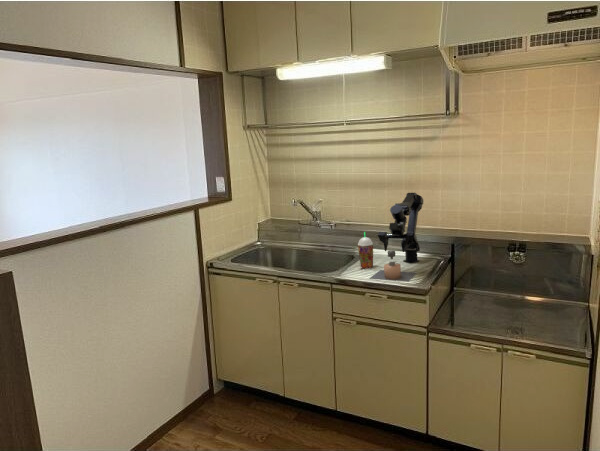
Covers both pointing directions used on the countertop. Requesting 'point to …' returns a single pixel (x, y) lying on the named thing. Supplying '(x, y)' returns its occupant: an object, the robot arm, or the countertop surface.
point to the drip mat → (404, 277)
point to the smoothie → (365, 252)
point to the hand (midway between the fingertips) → (394, 251)
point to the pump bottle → (392, 270)
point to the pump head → (391, 254)
